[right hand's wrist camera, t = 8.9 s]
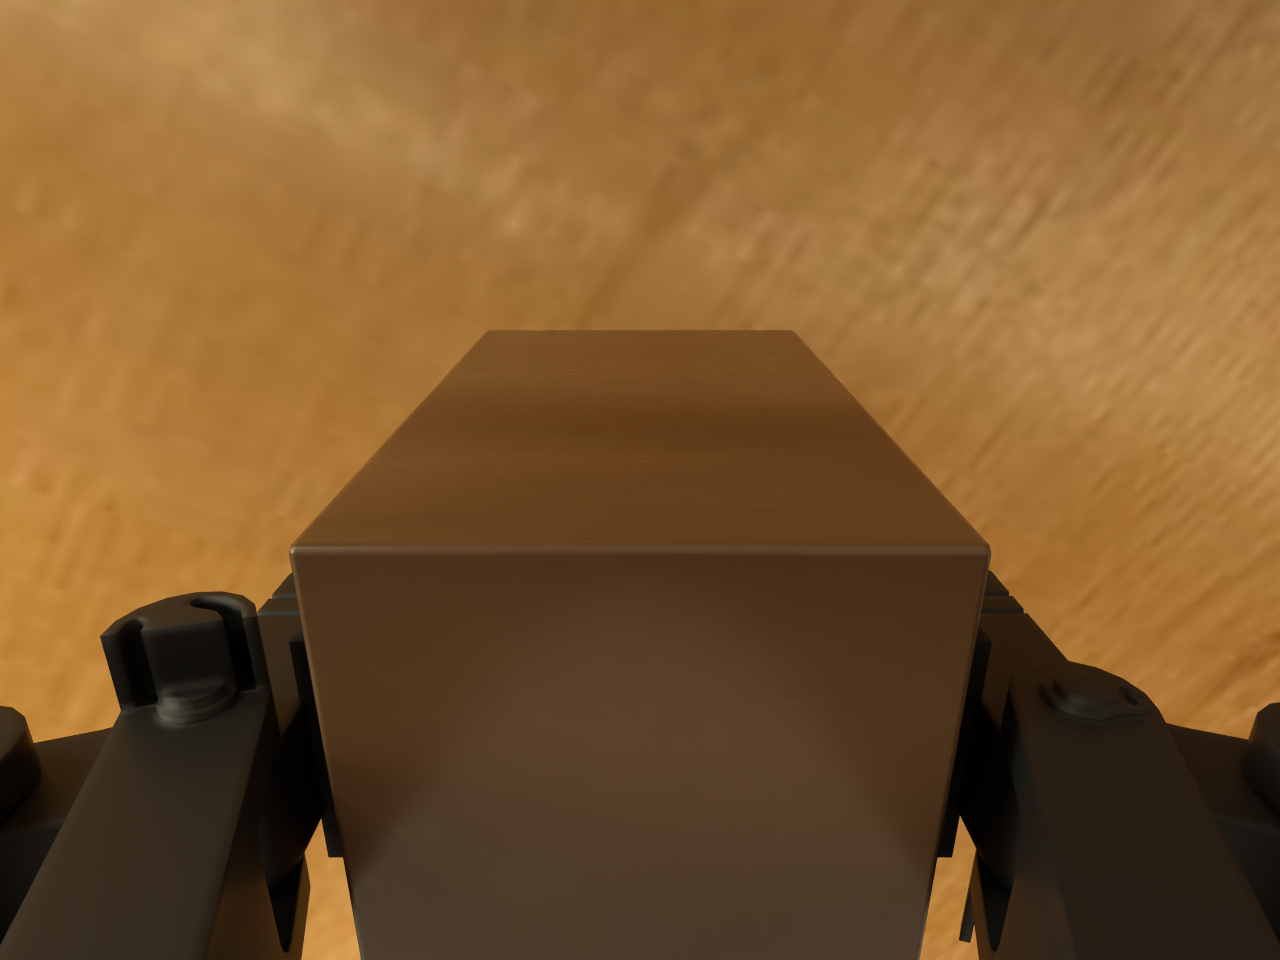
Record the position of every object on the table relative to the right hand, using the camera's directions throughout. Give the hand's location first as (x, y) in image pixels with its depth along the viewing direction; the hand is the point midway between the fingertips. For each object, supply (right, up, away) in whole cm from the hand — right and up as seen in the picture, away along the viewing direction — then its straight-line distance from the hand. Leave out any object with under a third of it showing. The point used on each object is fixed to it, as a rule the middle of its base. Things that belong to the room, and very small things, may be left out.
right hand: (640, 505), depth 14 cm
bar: (0, -8, +4) cm, 9 cm away
